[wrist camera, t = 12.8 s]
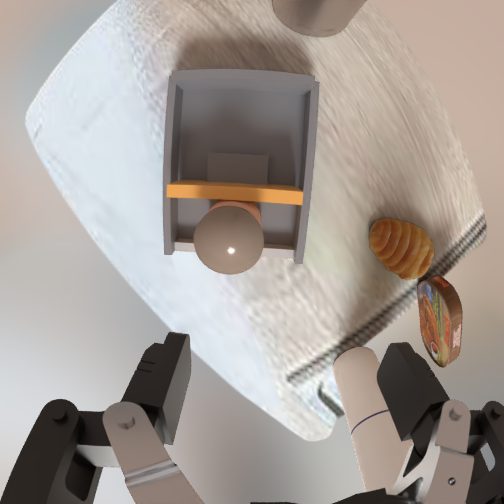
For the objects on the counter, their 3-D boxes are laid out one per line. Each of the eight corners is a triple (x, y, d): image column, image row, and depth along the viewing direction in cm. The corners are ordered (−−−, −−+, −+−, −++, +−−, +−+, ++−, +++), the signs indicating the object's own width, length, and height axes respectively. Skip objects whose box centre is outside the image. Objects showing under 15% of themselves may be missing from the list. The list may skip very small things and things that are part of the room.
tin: (414, 271, 33) (446, 301, 25) (431, 262, 32) (465, 289, 24) (420, 346, 37) (442, 379, 29) (435, 338, 37) (459, 369, 29)
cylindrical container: (349, 341, 36) (407, 497, 13) (383, 352, 37) (446, 486, 14) (323, 374, 39) (356, 522, 15) (357, 383, 40) (399, 512, 16)
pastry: (354, 250, 32) (365, 262, 28) (380, 202, 30) (394, 208, 26) (406, 278, 33) (419, 290, 30) (430, 235, 31) (445, 244, 28)
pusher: (181, 152, 28) (167, 152, 23) (298, 158, 28) (306, 159, 23) (180, 190, 29) (166, 197, 24) (294, 196, 29) (302, 205, 24)
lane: (177, 83, 25) (164, 71, 21) (313, 88, 26) (323, 77, 21) (172, 245, 32) (159, 260, 27) (298, 253, 32) (305, 270, 27)
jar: (209, 190, 29) (193, 206, 22) (263, 193, 29) (266, 209, 22) (208, 241, 31) (194, 272, 24) (260, 244, 31) (261, 276, 24)
